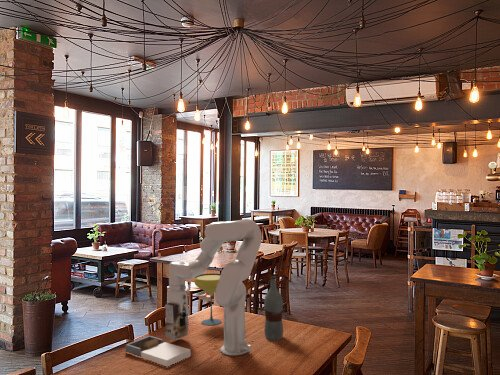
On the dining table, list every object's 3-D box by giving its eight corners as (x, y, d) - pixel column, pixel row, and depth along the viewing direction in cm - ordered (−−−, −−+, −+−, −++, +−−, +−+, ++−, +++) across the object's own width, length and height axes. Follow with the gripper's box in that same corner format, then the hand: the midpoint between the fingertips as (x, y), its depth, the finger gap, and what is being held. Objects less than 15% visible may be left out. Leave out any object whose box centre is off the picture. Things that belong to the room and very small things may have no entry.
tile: (159, 344, 191) (157, 337, 192) (148, 348, 186) (146, 341, 187) (151, 347, 194) (149, 341, 195) (140, 351, 190) (138, 345, 191)
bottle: (262, 340, 204) (262, 278, 204) (266, 333, 213) (265, 274, 213) (281, 341, 202) (281, 278, 202) (284, 335, 211) (284, 275, 211)
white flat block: (190, 356, 185) (190, 349, 185) (167, 367, 174) (166, 360, 174) (165, 348, 195) (164, 342, 195) (141, 358, 183) (140, 351, 183)
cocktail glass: (234, 320, 235) (233, 275, 235) (215, 329, 220) (214, 281, 220) (207, 315, 245) (207, 272, 245) (188, 324, 229) (187, 278, 229)
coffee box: (174, 340, 198) (174, 306, 198) (165, 337, 202) (165, 303, 202) (188, 335, 205) (188, 301, 206) (179, 332, 209) (179, 299, 209)
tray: (164, 348, 195) (164, 339, 195) (140, 358, 183) (140, 349, 183) (149, 344, 201) (149, 335, 201) (125, 353, 189) (125, 344, 189)
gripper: (195, 288, 202) (195, 325, 202) (170, 283, 212) (170, 319, 212) (184, 291, 196) (184, 330, 196) (158, 286, 206) (158, 323, 206)
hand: (177, 324), depth 204 cm, fingers closed on coffee box, 6 cm apart
